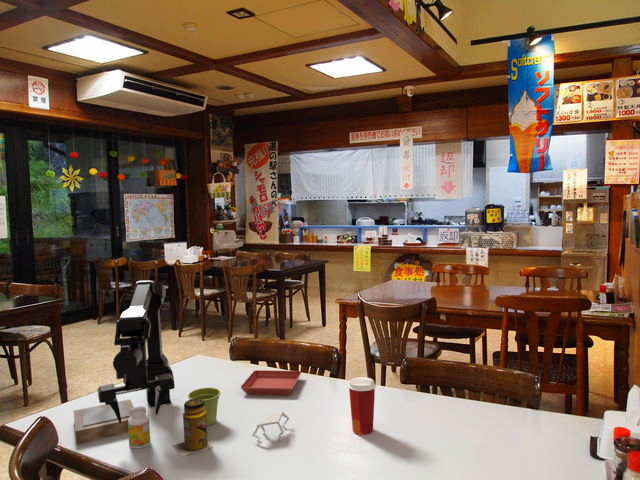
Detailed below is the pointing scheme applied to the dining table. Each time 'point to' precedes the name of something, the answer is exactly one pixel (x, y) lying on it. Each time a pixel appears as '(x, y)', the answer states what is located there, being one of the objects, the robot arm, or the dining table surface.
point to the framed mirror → (101, 422)
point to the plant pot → (207, 401)
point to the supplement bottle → (138, 427)
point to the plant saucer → (271, 382)
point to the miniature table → (272, 420)
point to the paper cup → (362, 404)
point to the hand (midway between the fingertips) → (138, 418)
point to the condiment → (194, 428)
